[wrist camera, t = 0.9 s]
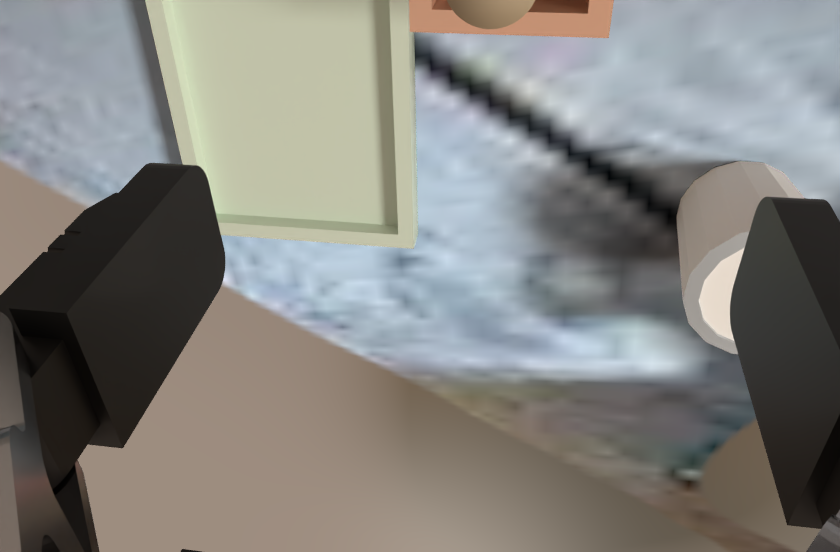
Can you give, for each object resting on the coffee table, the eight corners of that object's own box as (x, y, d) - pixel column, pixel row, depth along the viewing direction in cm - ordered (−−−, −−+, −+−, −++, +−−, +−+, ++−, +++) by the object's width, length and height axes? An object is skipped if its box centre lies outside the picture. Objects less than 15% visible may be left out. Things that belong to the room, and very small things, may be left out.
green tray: (146, -71, 32) (130, -64, 31) (412, -67, 31) (406, -60, 29) (208, 219, 41) (198, 233, 40) (417, 233, 39) (413, 248, 38)
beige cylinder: (642, 250, 38) (657, 336, 32) (698, 132, 34) (727, 207, 28) (770, 282, 38) (807, 374, 32) (841, 169, 34) (898, 251, 28)
